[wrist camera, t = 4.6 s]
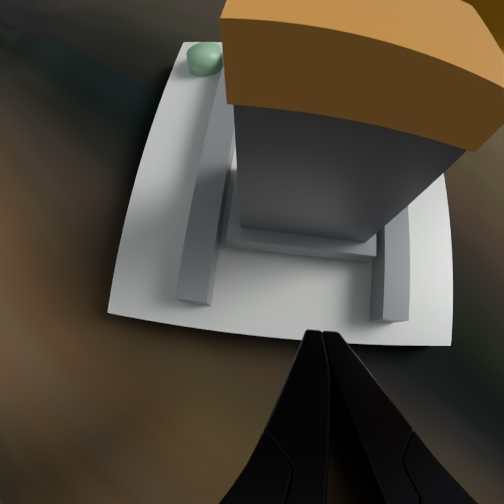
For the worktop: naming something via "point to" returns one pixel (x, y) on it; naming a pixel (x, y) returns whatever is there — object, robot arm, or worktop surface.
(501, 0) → the spool
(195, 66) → the white rail base plate
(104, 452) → the worktop surface
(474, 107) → the breaker handle
